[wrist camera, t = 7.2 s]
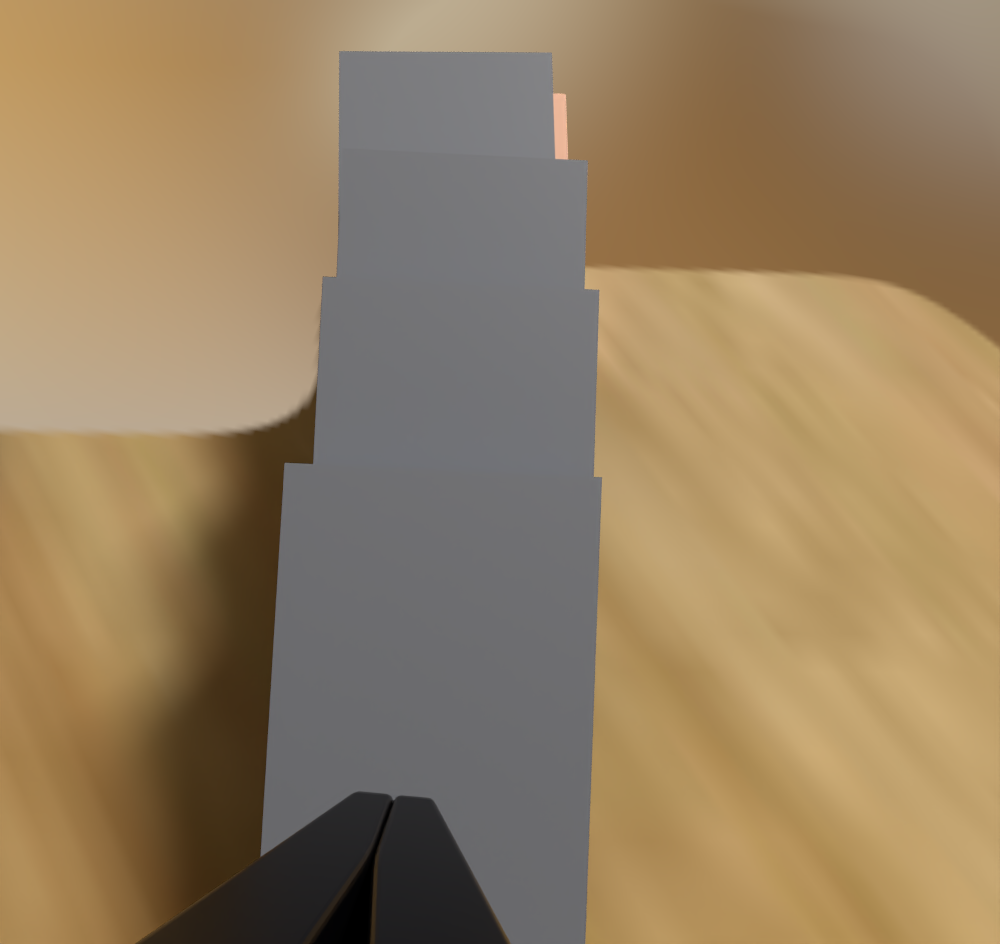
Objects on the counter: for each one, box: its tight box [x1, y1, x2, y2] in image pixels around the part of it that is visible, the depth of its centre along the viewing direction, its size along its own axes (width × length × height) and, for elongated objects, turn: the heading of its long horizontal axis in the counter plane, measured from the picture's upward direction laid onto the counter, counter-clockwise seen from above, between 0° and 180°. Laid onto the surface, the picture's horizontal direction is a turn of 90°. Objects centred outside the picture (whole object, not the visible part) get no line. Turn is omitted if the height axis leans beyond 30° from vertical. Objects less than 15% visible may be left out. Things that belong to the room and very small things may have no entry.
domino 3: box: [313, 277, 599, 477], centre depth 15 cm, size 2×5×10 cm
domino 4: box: [261, 463, 602, 944], centre depth 13 cm, size 2×5×10 cm
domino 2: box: [337, 148, 588, 289], centre depth 16 cm, size 2×5×10 cm
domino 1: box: [338, 51, 555, 235], centre depth 19 cm, size 2×5×10 cm
